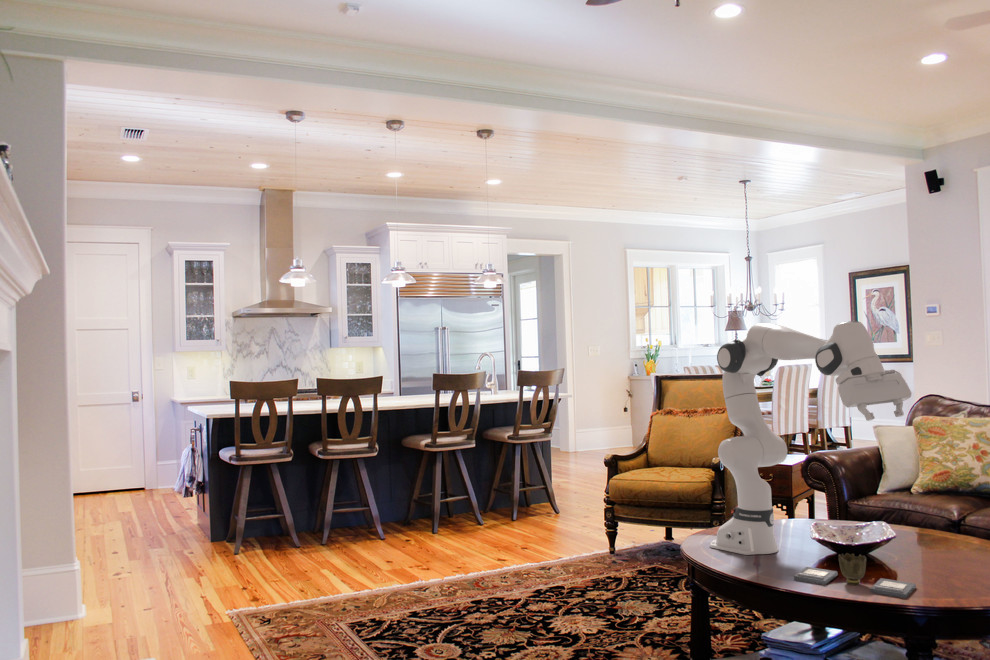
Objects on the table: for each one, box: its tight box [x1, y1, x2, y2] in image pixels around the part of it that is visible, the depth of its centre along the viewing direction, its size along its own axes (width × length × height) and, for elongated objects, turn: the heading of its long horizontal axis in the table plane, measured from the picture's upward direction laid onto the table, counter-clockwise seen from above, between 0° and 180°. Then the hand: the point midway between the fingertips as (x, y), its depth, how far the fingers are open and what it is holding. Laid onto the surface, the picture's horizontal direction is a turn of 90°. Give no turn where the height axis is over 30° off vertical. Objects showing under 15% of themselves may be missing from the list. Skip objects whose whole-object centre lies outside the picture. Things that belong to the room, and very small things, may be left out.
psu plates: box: [793, 566, 917, 600], centre depth 220 cm, size 30×12×2 cm, turn 50°
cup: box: [838, 552, 867, 586], centre depth 220 cm, size 8×7×8 cm
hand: (885, 418), depth 210 cm, fingers open, 8 cm apart
